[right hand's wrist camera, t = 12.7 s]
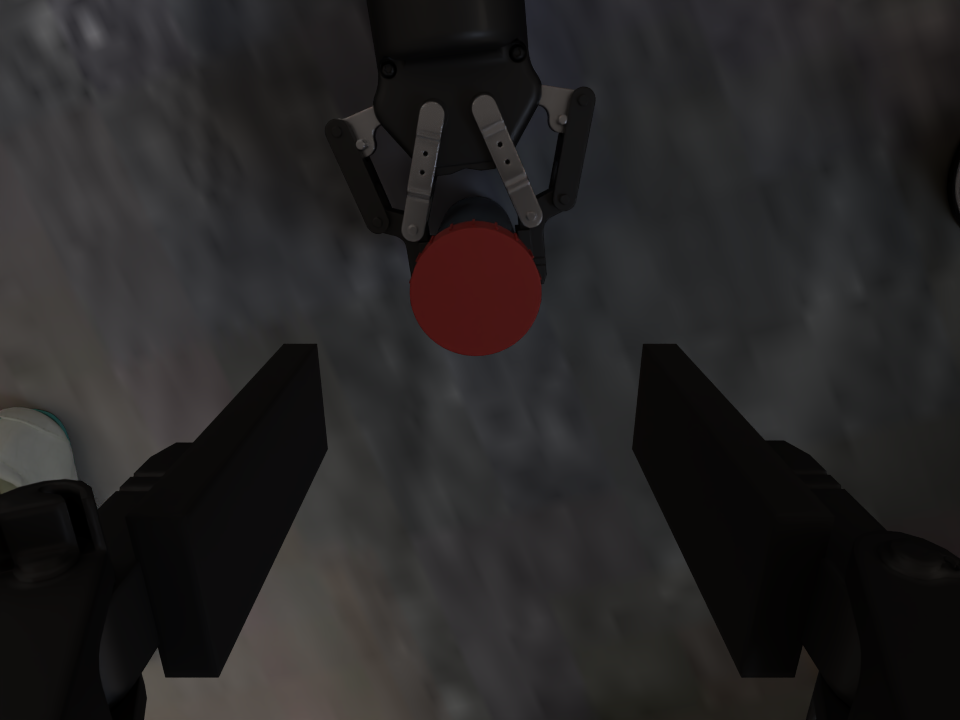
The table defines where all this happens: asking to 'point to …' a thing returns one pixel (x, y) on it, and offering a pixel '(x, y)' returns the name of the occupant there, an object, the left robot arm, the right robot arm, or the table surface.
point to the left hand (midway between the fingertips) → (481, 296)
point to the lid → (475, 288)
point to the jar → (476, 213)
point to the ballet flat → (33, 448)
